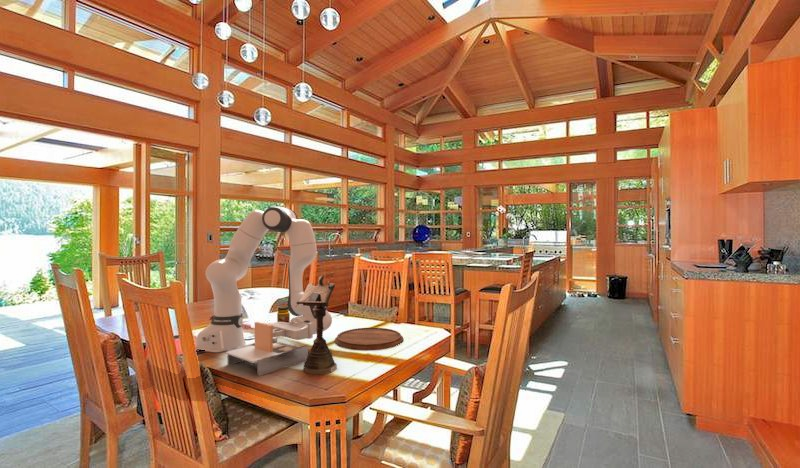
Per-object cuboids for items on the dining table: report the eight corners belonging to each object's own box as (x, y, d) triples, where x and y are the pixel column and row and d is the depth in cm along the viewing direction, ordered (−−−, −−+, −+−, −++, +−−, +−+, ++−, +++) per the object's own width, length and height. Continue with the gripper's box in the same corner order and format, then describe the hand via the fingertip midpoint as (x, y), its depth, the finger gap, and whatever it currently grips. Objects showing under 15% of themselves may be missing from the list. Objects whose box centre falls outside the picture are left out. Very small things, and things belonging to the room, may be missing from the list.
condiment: (285, 332, 201) (285, 308, 201) (270, 331, 204) (270, 307, 204) (293, 329, 208) (293, 306, 208) (279, 327, 211) (279, 305, 211)
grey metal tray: (276, 350, 171) (275, 337, 171) (308, 359, 159) (307, 345, 159) (227, 364, 154) (227, 349, 154) (259, 376, 141) (258, 360, 141)
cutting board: (397, 352, 169) (397, 346, 169) (324, 349, 174) (324, 343, 174) (407, 333, 201) (407, 328, 201) (346, 331, 206) (346, 326, 206)
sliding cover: (251, 346, 161) (251, 320, 160) (279, 355, 150) (279, 326, 150) (225, 353, 152) (225, 325, 152) (253, 363, 141) (253, 333, 141)
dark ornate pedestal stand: (326, 381, 136) (325, 278, 136) (291, 377, 140) (290, 277, 139) (344, 365, 152) (344, 273, 152) (313, 362, 156) (312, 272, 155)
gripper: (283, 316, 174) (255, 322, 163) (314, 323, 162) (286, 330, 151) (283, 331, 174) (255, 338, 163) (315, 338, 162) (286, 346, 151)
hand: (270, 334), depth 157 cm, fingers closed
